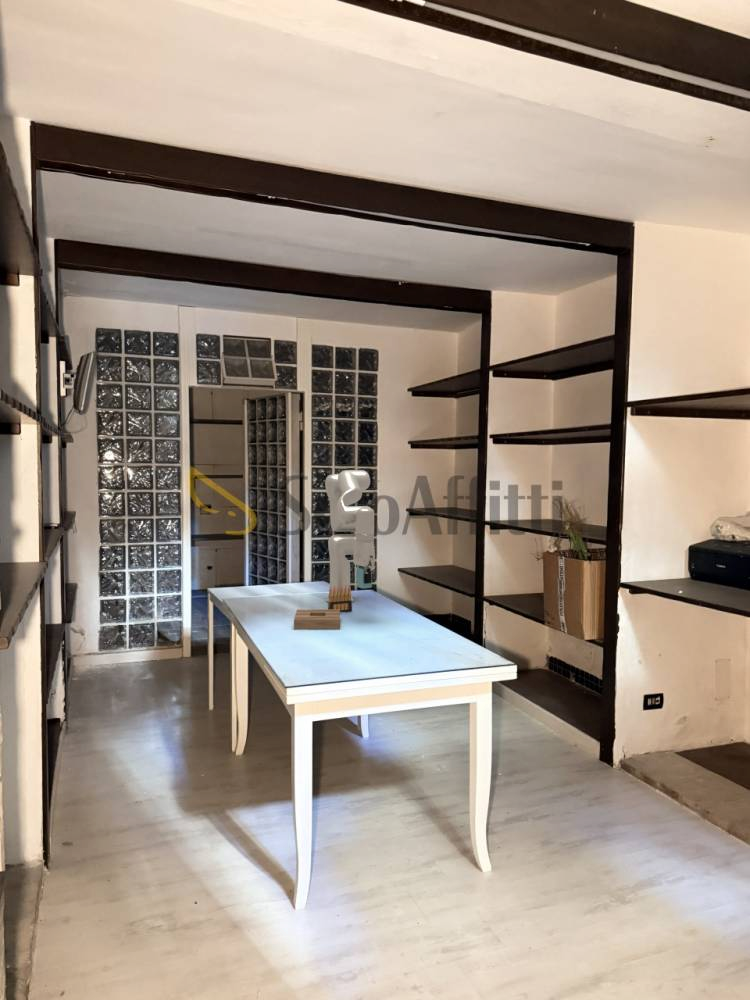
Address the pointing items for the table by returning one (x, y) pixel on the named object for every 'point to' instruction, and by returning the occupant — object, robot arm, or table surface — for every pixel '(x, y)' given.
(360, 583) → the peg
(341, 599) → the ammunition clip
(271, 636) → the table surface
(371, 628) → the table surface
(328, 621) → the socket block
